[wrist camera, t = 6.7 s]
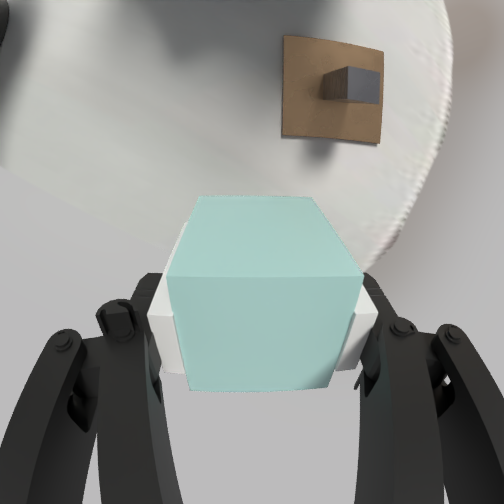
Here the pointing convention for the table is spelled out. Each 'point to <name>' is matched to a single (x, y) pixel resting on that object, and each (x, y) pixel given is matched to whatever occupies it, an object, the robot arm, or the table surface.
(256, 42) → the table surface
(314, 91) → the brown peg stand
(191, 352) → the mint foam cube
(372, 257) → the table surface
